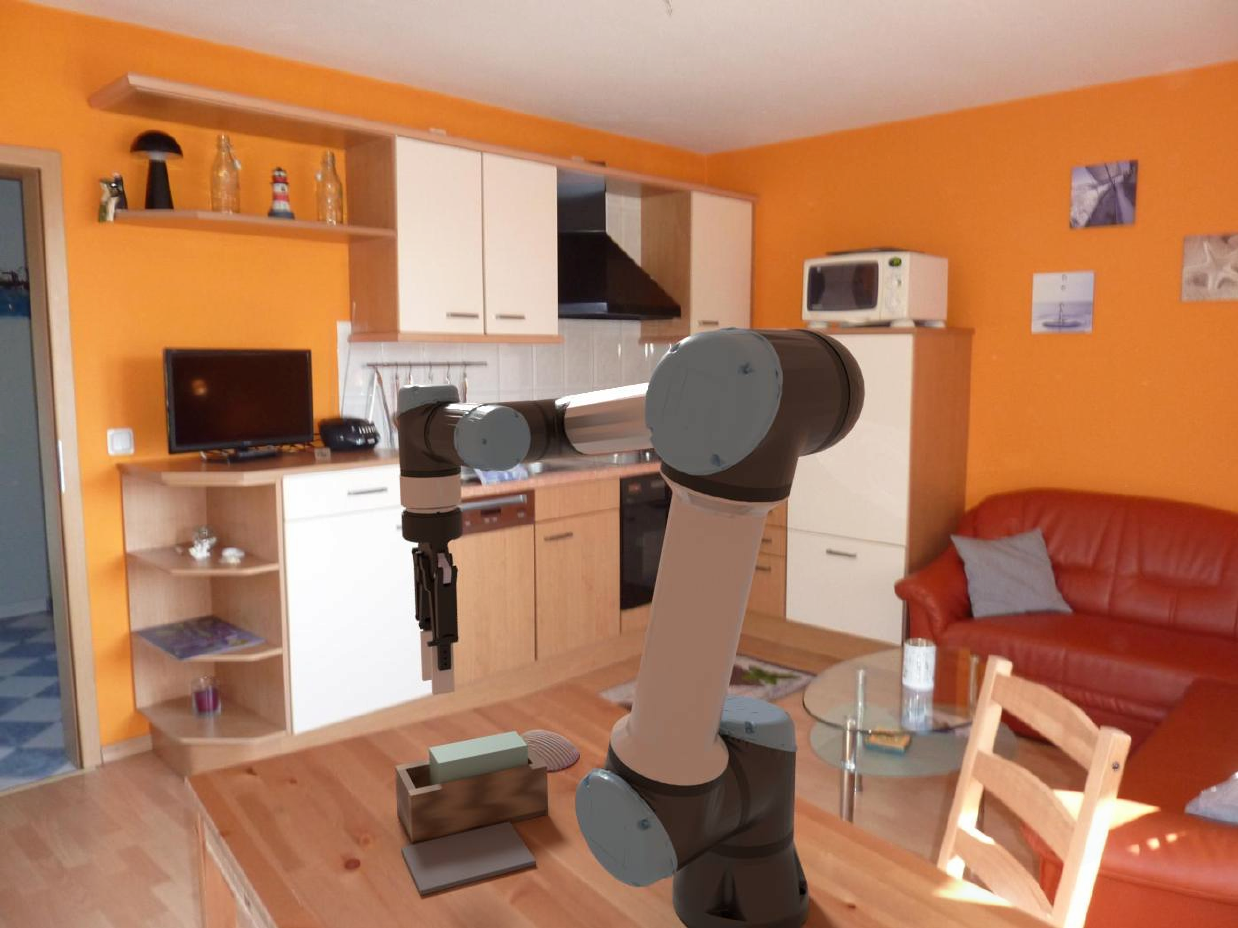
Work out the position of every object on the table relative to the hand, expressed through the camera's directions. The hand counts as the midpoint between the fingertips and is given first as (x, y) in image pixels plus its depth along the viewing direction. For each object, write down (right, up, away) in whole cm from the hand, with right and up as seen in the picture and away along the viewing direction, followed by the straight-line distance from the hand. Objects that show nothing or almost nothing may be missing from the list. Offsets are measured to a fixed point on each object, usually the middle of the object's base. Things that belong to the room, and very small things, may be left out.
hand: (438, 684), depth 119 cm
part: (+5, -14, +4) cm, 15 cm away
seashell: (+12, -16, +21) cm, 30 cm away
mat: (+5, -20, -6) cm, 21 cm away
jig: (+4, -18, +4) cm, 19 cm away
